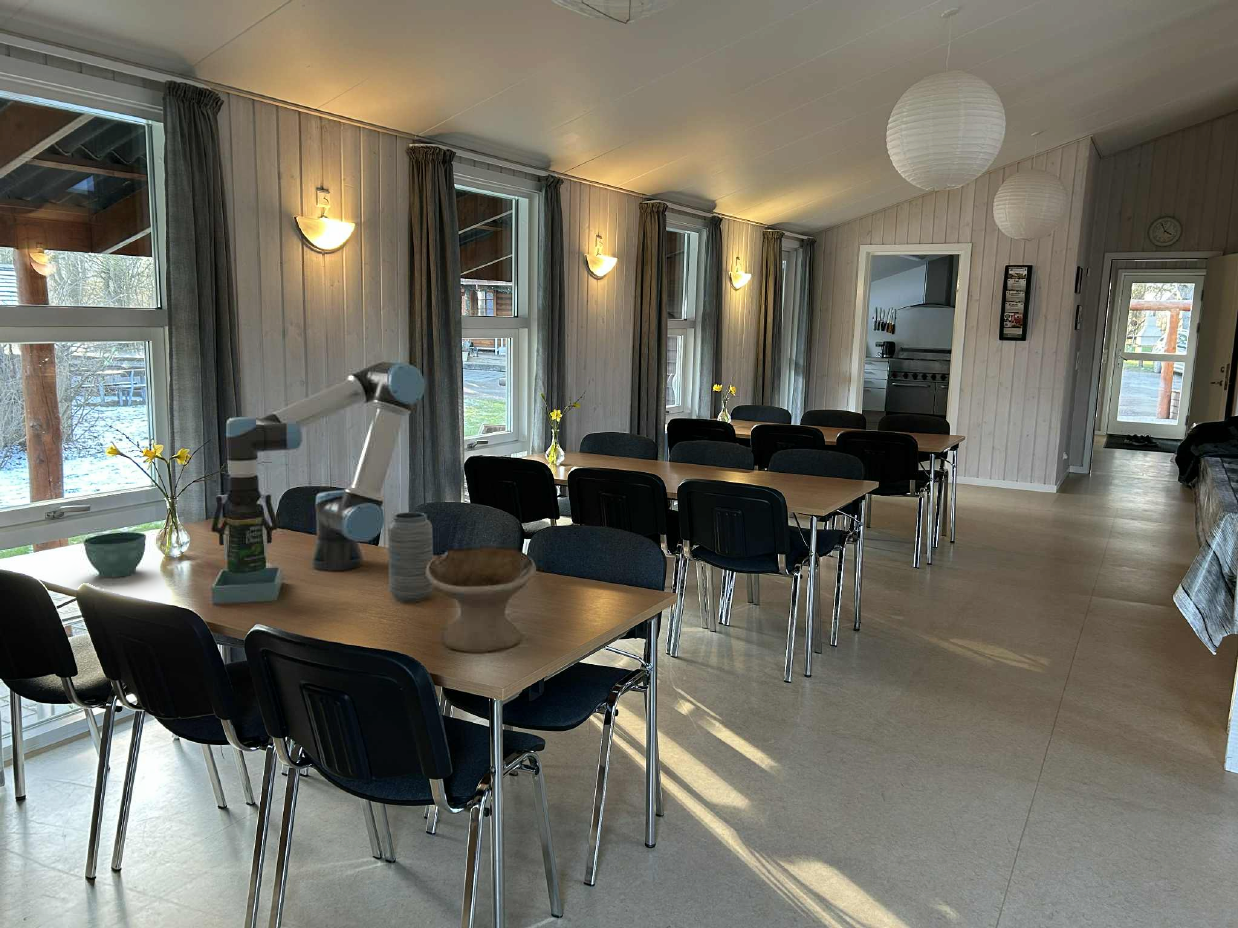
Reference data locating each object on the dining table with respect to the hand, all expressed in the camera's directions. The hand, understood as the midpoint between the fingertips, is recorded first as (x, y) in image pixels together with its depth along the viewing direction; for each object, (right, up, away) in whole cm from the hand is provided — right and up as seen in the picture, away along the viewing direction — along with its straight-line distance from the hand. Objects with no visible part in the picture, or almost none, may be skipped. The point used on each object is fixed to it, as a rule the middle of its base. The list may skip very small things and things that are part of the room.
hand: (246, 555), depth 255 cm
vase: (+45, -12, -1) cm, 47 cm away
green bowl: (-45, -7, +19) cm, 50 cm away
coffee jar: (0, -4, +1) cm, 4 cm away
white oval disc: (-3, -8, +17) cm, 19 cm away
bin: (0, -10, +2) cm, 10 cm away
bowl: (+69, -17, -35) cm, 79 cm away
